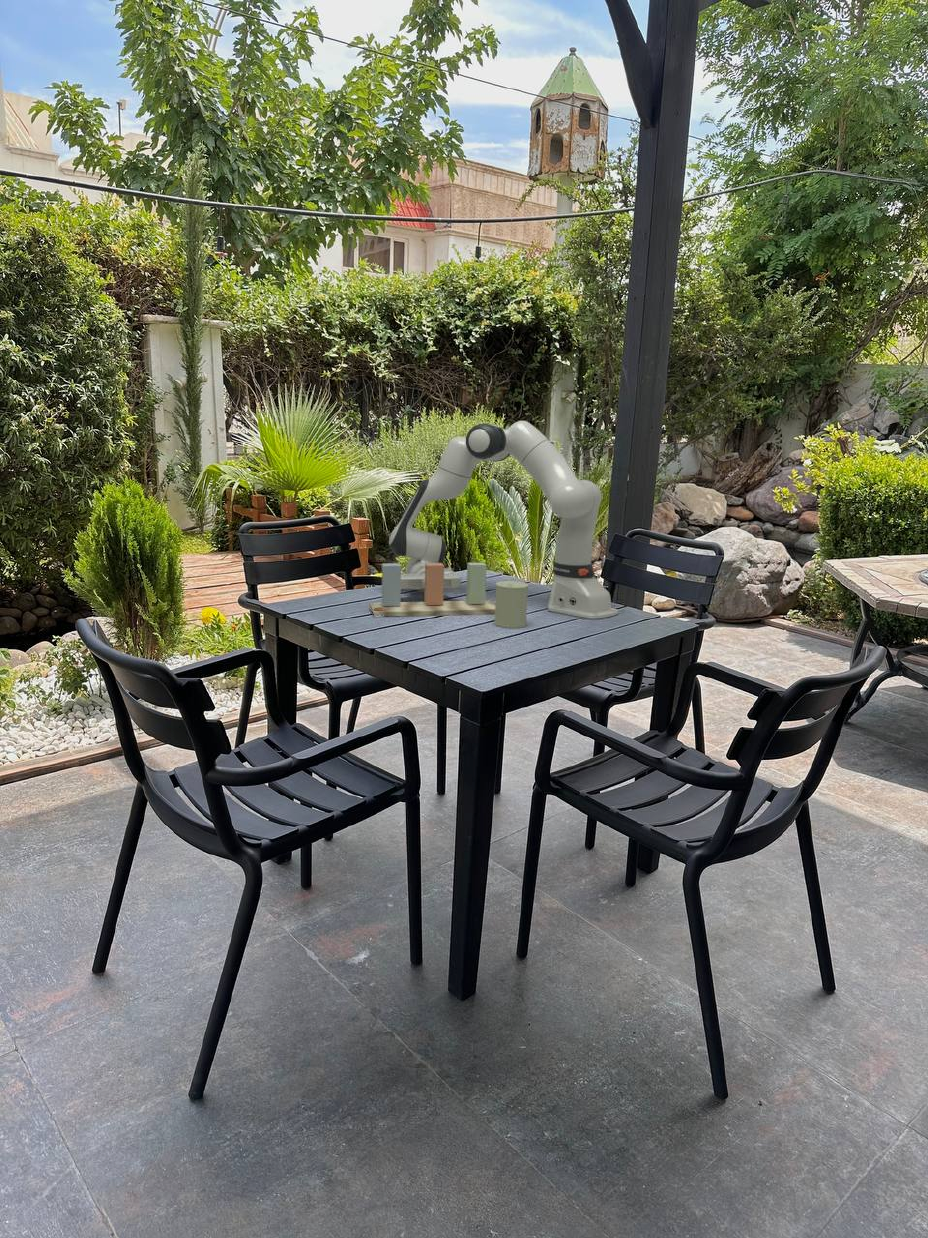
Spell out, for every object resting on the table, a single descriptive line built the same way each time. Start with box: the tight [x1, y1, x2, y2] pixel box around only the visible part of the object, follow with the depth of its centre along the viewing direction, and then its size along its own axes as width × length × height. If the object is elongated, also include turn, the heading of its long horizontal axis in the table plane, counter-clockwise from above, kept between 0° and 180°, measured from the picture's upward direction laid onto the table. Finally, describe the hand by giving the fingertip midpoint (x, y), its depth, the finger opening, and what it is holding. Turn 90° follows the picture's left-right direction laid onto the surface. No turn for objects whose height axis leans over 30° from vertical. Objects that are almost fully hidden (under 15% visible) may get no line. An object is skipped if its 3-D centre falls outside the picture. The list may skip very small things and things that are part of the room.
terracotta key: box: [423, 563, 445, 605], centre depth 238 cm, size 5×4×12 cm
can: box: [493, 580, 529, 629], centre depth 224 cm, size 9×9×12 cm
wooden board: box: [369, 599, 496, 617], centre depth 237 cm, size 38×12×2 cm, turn 103°
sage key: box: [465, 562, 488, 604], centre depth 241 cm, size 5×4×12 cm
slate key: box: [381, 562, 402, 606], centre depth 235 cm, size 5×4×12 cm
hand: (432, 586), depth 240 cm, fingers closed
